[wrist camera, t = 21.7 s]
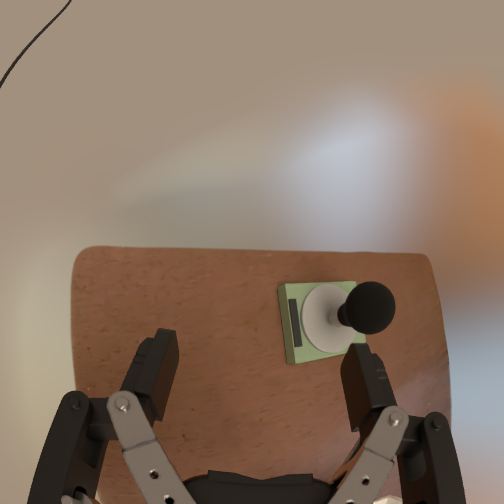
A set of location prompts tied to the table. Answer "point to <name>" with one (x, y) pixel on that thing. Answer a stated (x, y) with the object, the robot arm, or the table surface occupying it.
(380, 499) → the tape dispenser
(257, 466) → the table surface
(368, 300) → the light bulb
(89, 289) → the table surface
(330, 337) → the scale
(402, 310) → the table surface
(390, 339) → the table surface
